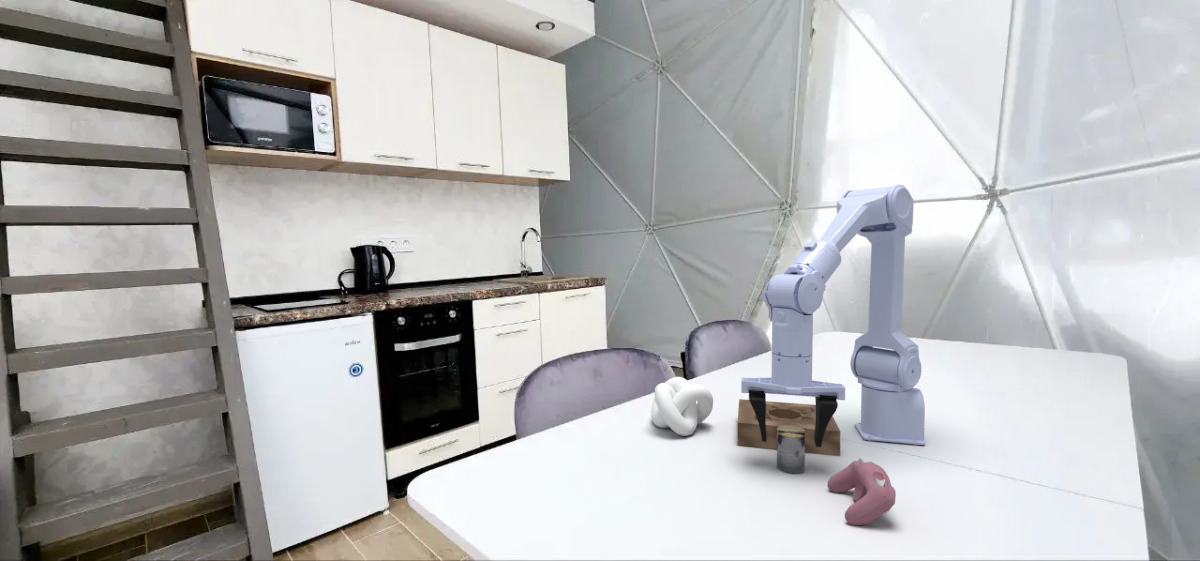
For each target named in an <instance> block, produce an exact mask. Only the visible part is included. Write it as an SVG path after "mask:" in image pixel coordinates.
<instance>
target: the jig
mask: <svg viewBox="0 0 1200 561" xmlns="http://www.w3.org/2000/svg"><path fill="white" fill-rule="evenodd" d="M737 409H738V411H737V436H736V437H737V438H736V439H737V440H736V446H739V447H749V448H759V449H770V450H777V427H779V426H783V425H790V426H796V427H800V428H802V429H804V430H805V453H808V454H819V455H827V456H838V457H840V456H841V430H840V428H839V426H838V424H837V421H836V420H835V418H834V415H833V416H832V418H831V419H830V421H829V423H828V425H827V428H826V430H825V433H824V436H823V440H822V445H821V447H816V444H815V436H814V435H815V424H816V404H810V403H808V404H807V403H795V402H782V401H781V402H780V401H766V434H767V442H763V441H762V439H761V431H760V427H759V423H758V420H757V417H756V414H755V412H754V410H753V407H752V405H751V403H750V401H749V399H741V398H739V399H738V408H737Z"/></svg>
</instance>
